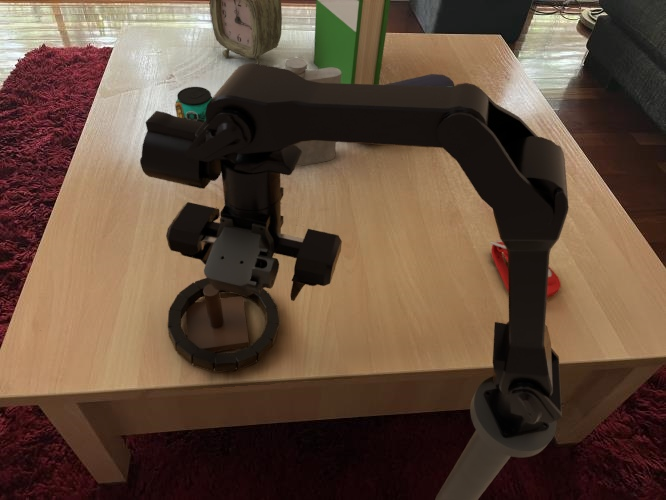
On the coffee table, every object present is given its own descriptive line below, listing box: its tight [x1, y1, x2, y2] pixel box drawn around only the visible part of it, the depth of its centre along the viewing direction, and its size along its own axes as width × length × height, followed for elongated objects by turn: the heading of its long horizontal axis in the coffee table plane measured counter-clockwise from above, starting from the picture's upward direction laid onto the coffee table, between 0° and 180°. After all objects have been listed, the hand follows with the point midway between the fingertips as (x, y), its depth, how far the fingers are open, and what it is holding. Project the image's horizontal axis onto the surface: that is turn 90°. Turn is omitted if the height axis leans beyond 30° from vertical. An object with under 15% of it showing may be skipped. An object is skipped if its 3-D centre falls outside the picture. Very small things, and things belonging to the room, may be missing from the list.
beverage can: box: [174, 86, 213, 122], centre depth 96 cm, size 7×7×12 cm
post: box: [185, 284, 250, 353], centre depth 70 cm, size 8×8×8 cm
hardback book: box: [313, 0, 391, 85], centre depth 115 cm, size 18×7×24 cm, turn 28°
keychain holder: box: [489, 240, 562, 298], centre depth 81 cm, size 12×4×10 cm
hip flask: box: [284, 56, 341, 167], centre depth 93 cm, size 16×4×20 cm, turn 103°
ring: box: [167, 277, 280, 373], centre depth 72 cm, size 15×15×2 cm
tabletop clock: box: [209, 0, 283, 64], centre depth 117 cm, size 14×9×25 cm, turn 53°
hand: (257, 289), depth 65 cm, fingers open, 9 cm apart
